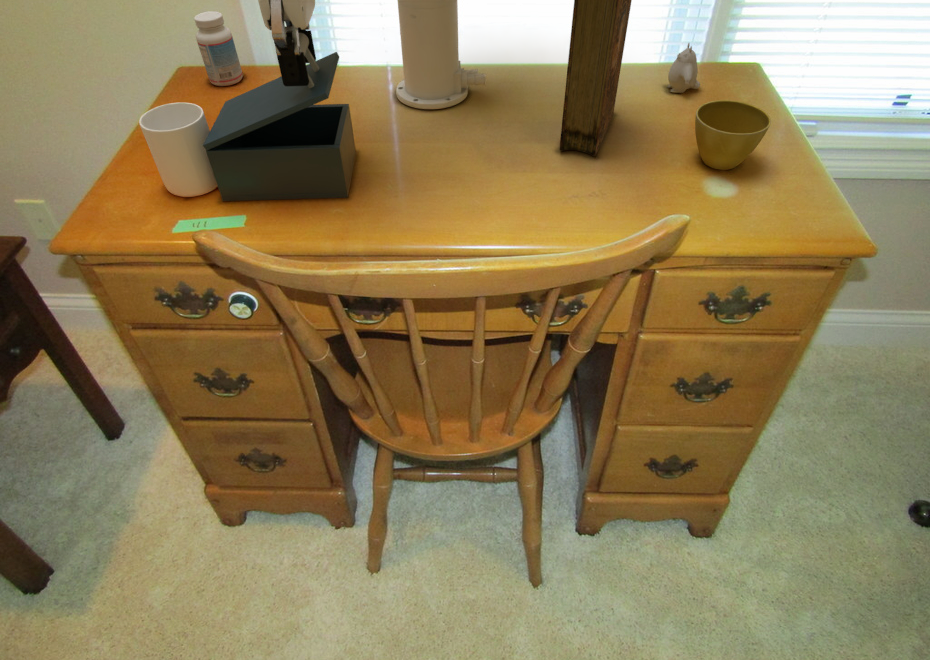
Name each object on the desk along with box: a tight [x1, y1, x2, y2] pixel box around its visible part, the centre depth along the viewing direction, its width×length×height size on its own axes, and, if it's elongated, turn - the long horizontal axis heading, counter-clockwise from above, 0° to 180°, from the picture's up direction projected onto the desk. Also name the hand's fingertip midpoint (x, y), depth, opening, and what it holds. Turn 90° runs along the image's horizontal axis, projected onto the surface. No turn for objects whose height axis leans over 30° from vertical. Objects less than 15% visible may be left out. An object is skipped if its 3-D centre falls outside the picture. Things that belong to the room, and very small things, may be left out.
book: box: [559, 0, 632, 157], centre depth 92 cm, size 16×6×25 cm, turn 160°
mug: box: [138, 101, 218, 198], centre depth 90 cm, size 12×8×10 cm
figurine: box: [666, 42, 701, 94], centre depth 108 cm, size 8×6×8 cm
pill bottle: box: [193, 10, 244, 87], centre depth 112 cm, size 6×6×11 cm
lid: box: [203, 33, 340, 150], centre depth 83 cm, size 18×13×6 cm
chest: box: [206, 103, 357, 202], centre depth 90 cm, size 18×13×8 cm
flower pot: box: [694, 99, 772, 171], centre depth 92 cm, size 10×10×7 cm
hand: (300, 72), depth 82 cm, fingers closed on lid, 6 cm apart
